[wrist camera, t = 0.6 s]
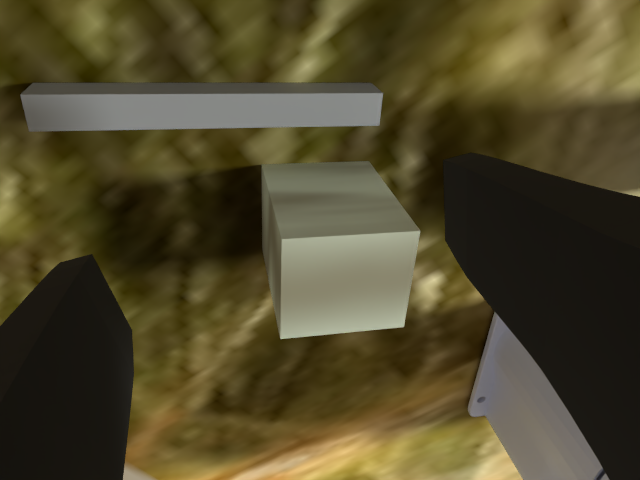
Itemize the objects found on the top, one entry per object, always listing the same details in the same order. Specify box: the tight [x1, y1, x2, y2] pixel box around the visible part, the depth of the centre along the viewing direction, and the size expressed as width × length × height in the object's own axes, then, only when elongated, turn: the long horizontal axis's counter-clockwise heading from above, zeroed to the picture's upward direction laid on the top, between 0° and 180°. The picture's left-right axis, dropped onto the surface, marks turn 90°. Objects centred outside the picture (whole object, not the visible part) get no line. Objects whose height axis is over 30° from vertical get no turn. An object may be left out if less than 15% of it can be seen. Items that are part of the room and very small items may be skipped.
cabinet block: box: [262, 161, 420, 339], centre depth 20 cm, size 4×4×6 cm
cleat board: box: [20, 83, 383, 131], centre depth 16 cm, size 8×12×4 cm, turn 87°
